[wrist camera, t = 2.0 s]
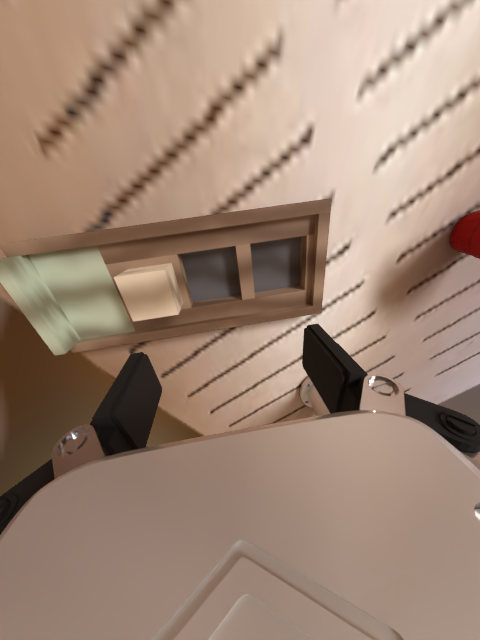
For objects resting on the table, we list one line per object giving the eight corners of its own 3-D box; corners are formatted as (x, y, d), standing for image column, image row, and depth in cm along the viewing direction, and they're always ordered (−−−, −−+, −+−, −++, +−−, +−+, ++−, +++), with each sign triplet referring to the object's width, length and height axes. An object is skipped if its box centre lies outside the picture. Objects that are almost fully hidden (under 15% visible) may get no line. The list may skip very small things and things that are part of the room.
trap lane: (311, 304, 34) (329, 320, 29) (85, 340, 33) (60, 363, 28) (318, 200, 27) (343, 196, 22) (24, 241, 25) (-26, 247, 20)
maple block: (183, 303, 29) (178, 314, 26) (143, 309, 29) (133, 321, 25) (171, 262, 26) (164, 269, 23) (127, 269, 26) (113, 277, 22)
